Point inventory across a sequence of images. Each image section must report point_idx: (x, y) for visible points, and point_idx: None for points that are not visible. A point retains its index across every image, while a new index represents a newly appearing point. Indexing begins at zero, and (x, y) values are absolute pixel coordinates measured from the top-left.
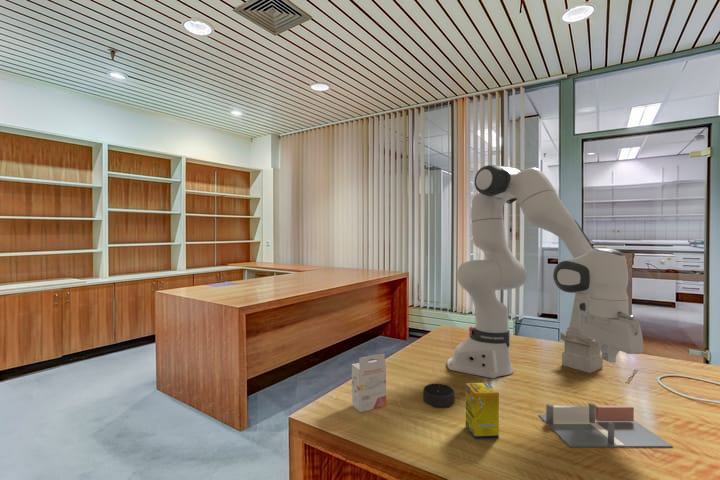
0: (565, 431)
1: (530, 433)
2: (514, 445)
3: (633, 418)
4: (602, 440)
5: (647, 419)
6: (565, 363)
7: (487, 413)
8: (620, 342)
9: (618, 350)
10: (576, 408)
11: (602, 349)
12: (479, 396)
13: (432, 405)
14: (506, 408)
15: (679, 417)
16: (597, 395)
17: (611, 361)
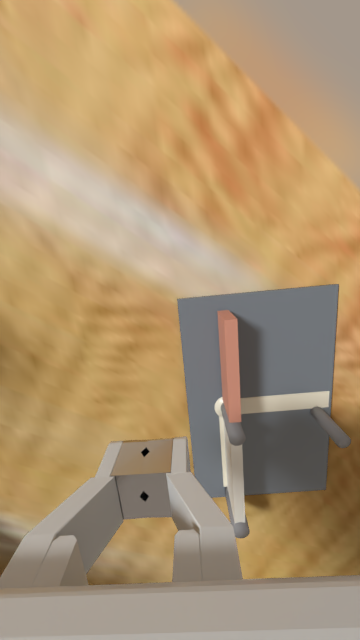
0: (270, 475)
1: (272, 530)
2: (312, 564)
3: (230, 312)
4: (308, 423)
5: (194, 249)
6: None
7: None
8: None
9: (231, 533)
10: (242, 471)
11: (97, 549)
12: None
13: None
14: (167, 541)
15: (171, 130)
16: (44, 305)
17: (189, 463)
